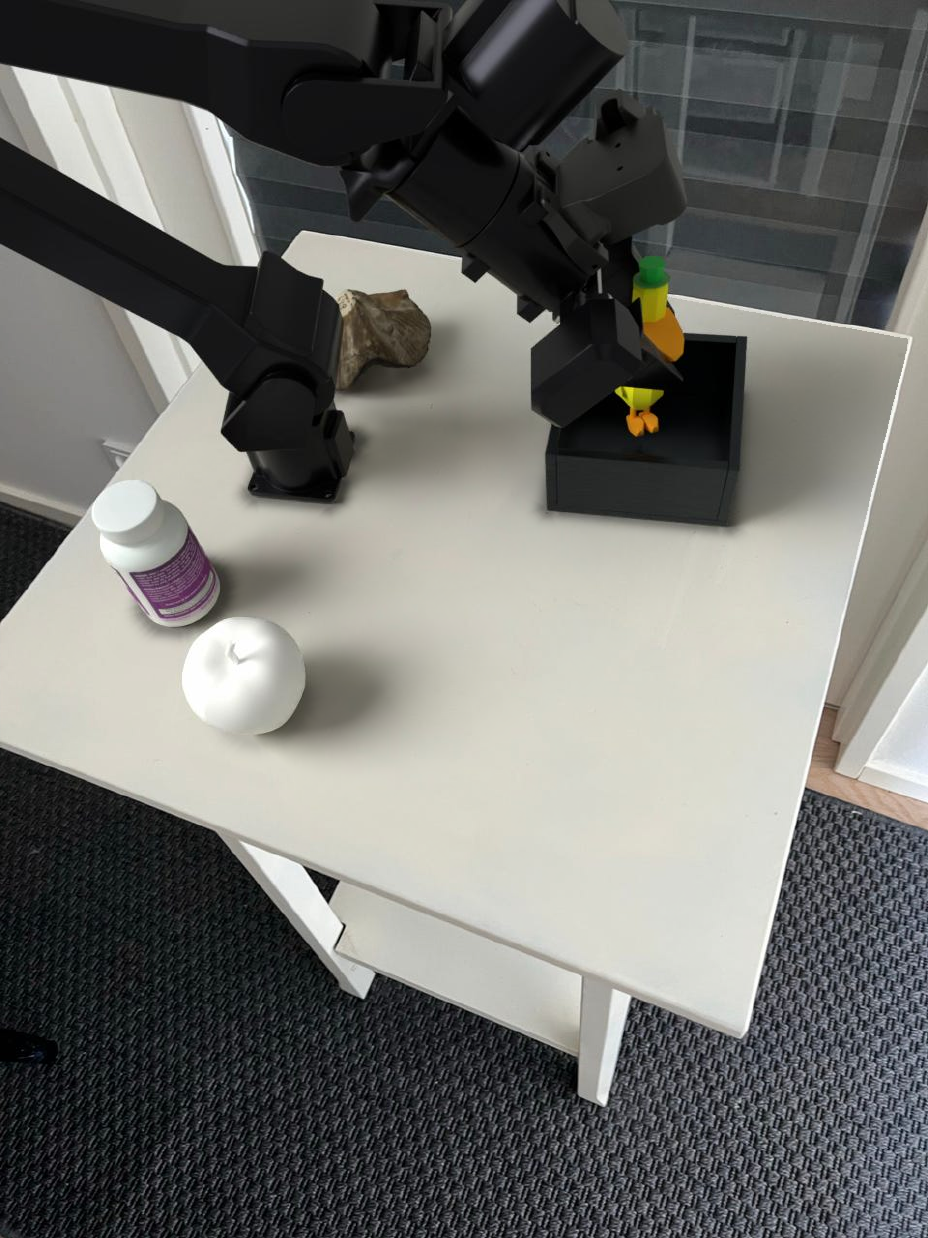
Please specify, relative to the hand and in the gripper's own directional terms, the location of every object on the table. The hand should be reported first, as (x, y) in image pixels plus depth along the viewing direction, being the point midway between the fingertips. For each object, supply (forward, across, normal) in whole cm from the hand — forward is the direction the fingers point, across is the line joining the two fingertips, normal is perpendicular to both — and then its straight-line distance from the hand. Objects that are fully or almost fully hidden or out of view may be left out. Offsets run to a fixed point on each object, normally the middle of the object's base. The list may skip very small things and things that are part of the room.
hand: (673, 351), depth 57 cm
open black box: (+6, 0, +7) cm, 9 cm away
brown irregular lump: (-9, +10, +22) cm, 26 cm away
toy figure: (+4, 0, +6) cm, 7 cm away
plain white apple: (-11, -19, +25) cm, 33 cm away
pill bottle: (-16, -11, +30) cm, 35 cm away
